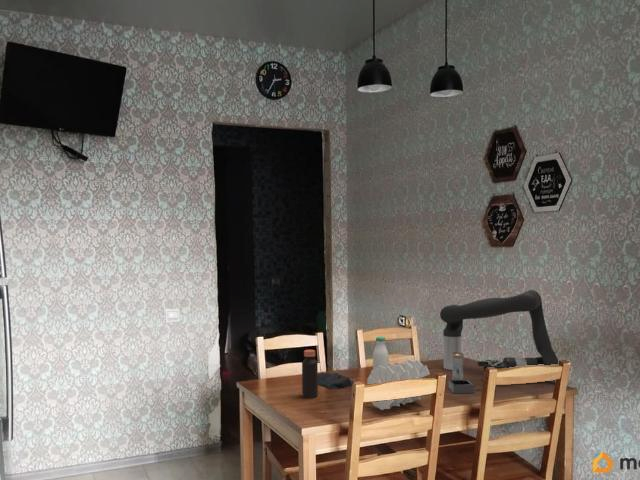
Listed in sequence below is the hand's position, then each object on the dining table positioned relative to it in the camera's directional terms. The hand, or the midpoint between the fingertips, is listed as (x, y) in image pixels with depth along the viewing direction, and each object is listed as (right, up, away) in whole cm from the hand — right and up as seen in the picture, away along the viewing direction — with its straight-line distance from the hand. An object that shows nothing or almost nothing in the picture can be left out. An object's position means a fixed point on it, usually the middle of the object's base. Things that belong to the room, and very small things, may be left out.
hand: (480, 365), depth 273 cm
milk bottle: (-46, -9, +11) cm, 48 cm away
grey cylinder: (-11, -8, 0) cm, 14 cm away
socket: (-13, -8, -13) cm, 20 cm away
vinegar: (-81, -9, -21) cm, 84 cm away
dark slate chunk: (-71, -9, +3) cm, 71 cm away
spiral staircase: (-45, -9, -35) cm, 57 cm away
